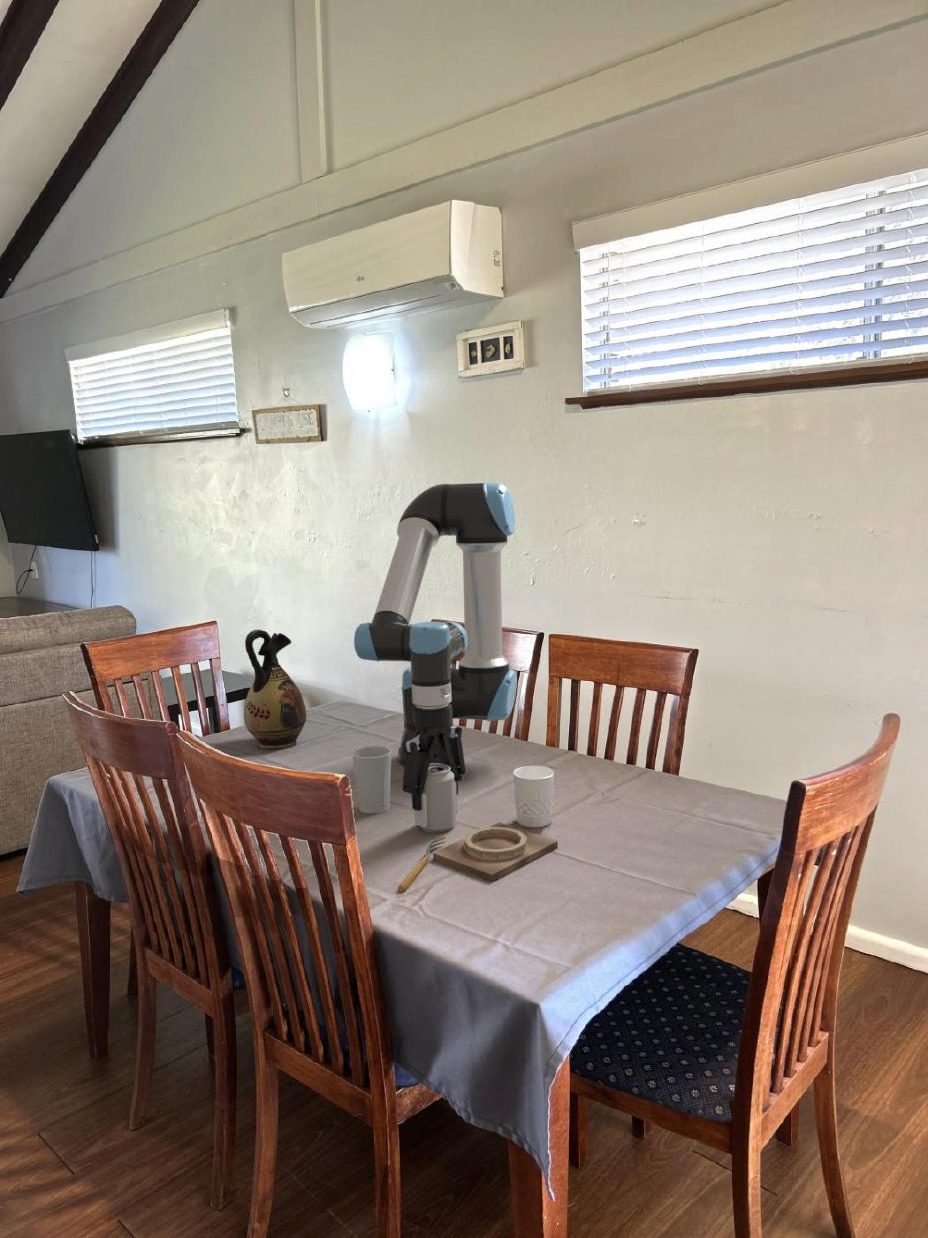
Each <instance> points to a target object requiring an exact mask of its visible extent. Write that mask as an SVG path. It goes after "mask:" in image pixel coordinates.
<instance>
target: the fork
mask: <svg viewBox="0 0 928 1238" xmlns="http://www.w3.org/2000/svg"><path fill="white" fill-rule="evenodd" d="M445 839H447V837H446V836H444V837H440V838H437V839H433V840H430V841H429V842H428V843H427V844H428V845H427V848H426V852H425V853H426V855H425V857H424V858H423V859H422V860H421V861H420V862H419V863H417V865H416V866H415V867H414V868H413V870H412V871H411V872H410V873H409V874H408V875H407V877H405V879H404V880H403V881H402V882H401V883H400V884H399V885H398V887H397V892H399V893H405V892H406V891H407V890H408V889H409V887H410V886H411V884H412V883H413V882H414V881H415V880H416V878H417V877H418V875H419V874H420V872H421V871H422V870H423V868H424V867H425V866H426V864H427V863H428V862H429V859H430V855H431V854H430V852H432V851H434V850H435V849H436V850H437V849H438V848H441V847H442V844H444V843H446V841H445Z"/></svg>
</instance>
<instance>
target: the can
mask: <svg viewBox="0 0 928 1238" xmlns="http://www.w3.org/2000/svg"><path fill="white" fill-rule="evenodd" d="M450 770H451V767H450V766H449V765H446V764H442V763H431V764H429V769H428V773H427V777H426V781H425V785H424V790H423V793H426V796H427V823H428V826H427V827H422V826H420V825H417V826H418V827H419V828H421V829H422V830H423V831H425V832H427V833H428V832H429V833H443V832H447V831H449V830H450V829H451V828H453V826H455V824H456V814H455V787H454V774H453V773H452V772H451V771H450ZM417 787H418V786H417Z"/></svg>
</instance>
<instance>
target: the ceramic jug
mask: <svg viewBox="0 0 928 1238" xmlns="http://www.w3.org/2000/svg"><path fill="white" fill-rule="evenodd" d="M259 638H261V639H263V643H262V644H261V645H260V648H259V651H258V653H257V655H258V656H261V657H263V661H262V666H261V664H260V662H259V659H258V658H257V655H256V652H255V649H254V642H255V641H256V640H258V639H259ZM290 644H292V640H291V639H290V638H289V637H288V636H286V635H285V634H283V633H280V632H279V633H278V634H277V633H276V632H274V633H273V634H272V636H271V635H270V634H269V632H267V631H266V630H263V629H254V630H252V631H251V630H250V632H248V634H247V635H246V636H245V640H244V647H245V651H246V653H247V655H248V658H249V661H250V663H251V667H252V668H253V670H254V680H253V683H252V684H251V686H250V689H249V690H248V693H247V696H246V699H245V705H244V710H243V711H244V713H243V715H244V717H243V718H244V724H245V727H246V729H247V731H248V732H249V733H250V735H252V736H253V737H254V739H255V740H256V741H257V742H258V745H259V747H261V748H262V749H285V748H289V747H295V746H296V745H297V744H296V743H298V742H297V739H298V738H299V736H300V734H301V732H302V731H303V728H304V727H305V724H306V721H307V707H306V704H305V701H304V698H303V695H302V692H301V691H300V689H299V687H298V686H297V685H296V683H295V681H294V680H293V679H292V678H291V677H290V675H289V674H288V673H287V671H286V670H285V669H284V668H283V667H282V665H281V664H280V663H279V659H278V656H277V654H278V653H280V651H281V650H283V649H285V648H286V647H288V646H290ZM261 748H260V749H261Z"/></svg>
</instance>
